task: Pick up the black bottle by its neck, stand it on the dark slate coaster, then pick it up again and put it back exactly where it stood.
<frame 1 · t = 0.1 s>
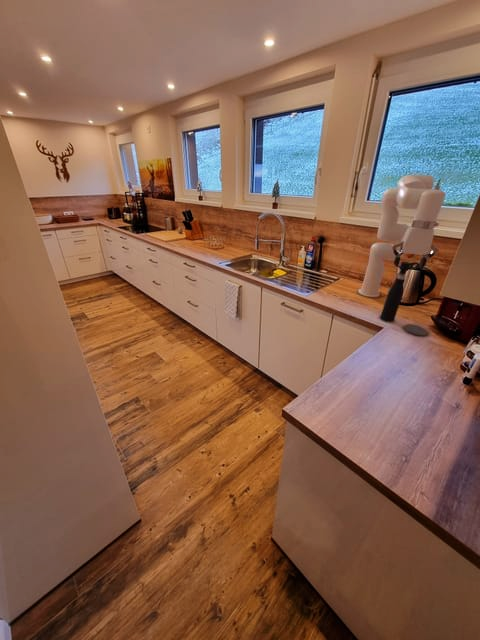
hand: (408, 266, 112), 31 cm above the worktop, tool pointing down, fingers open, 9 cm apart
slate coaster: (415, 330, 127), on the worktop
black bottle: (386, 319, 137), on the worktop
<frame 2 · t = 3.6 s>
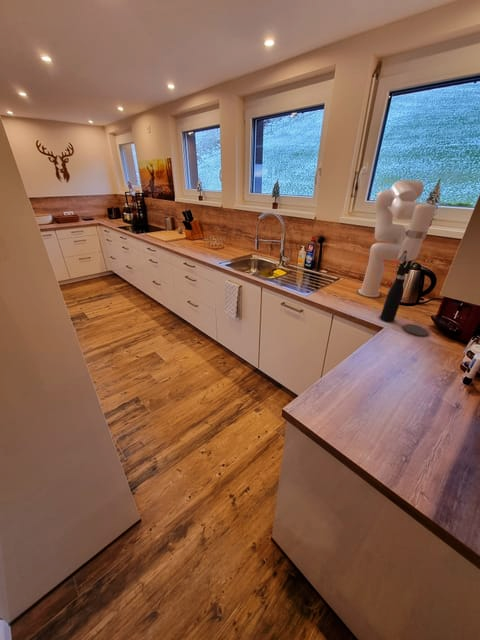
hand: (402, 273, 125), 25 cm above the worktop, tool pointing down, fingers closed on black bottle, 3 cm apart
black bottle: (386, 319, 137), on the worktop, touching gripper
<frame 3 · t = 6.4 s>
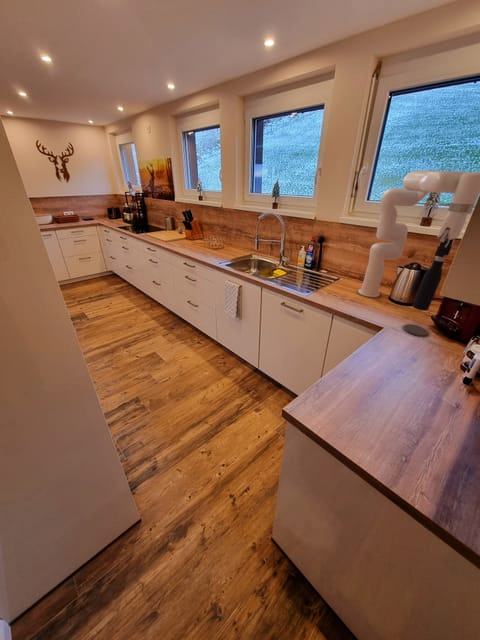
hand: (441, 255, 110), 37 cm above the worktop, tool pointing down, fingers closed on black bottle, 3 cm apart
black bottle: (419, 307, 123), point 12 cm above the worktop, touching gripper
when the fingers open (25 cm above the worktop, at t = 9.3 s): black bottle stays where it is, resting on slate coaster.
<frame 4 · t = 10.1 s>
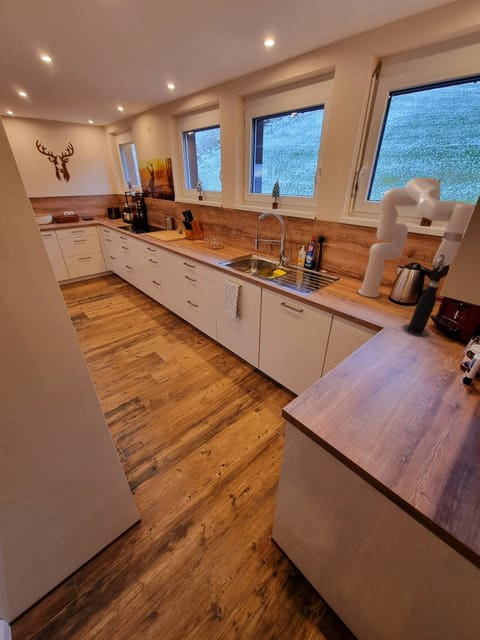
hand: (437, 277, 114), 27 cm above the worktop, tool pointing down, fingers open, 9 cm apart
black bottle: (415, 329, 127), point 1 cm above the worktop, touching slate coaster
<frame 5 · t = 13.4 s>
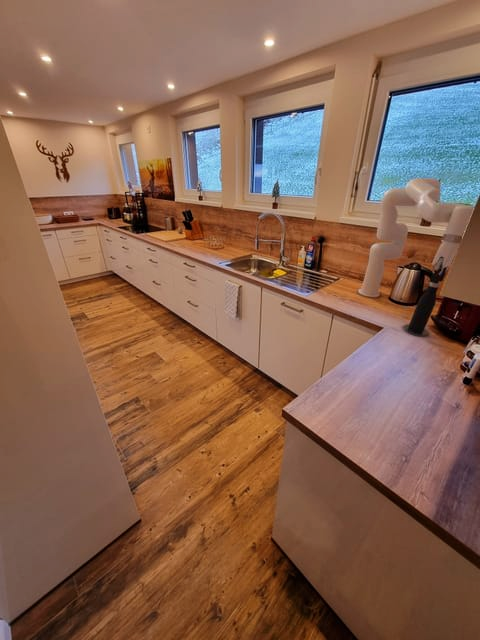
hand: (435, 281, 115), 25 cm above the worktop, tool pointing down, fingers closed on black bottle, 3 cm apart
black bottle: (415, 329, 127), point 1 cm above the worktop, touching gripper, slate coaster
when the fingers open (25 cm above the worktop, at t = 19.7 s): black bottle stays where it is, on the worktop.
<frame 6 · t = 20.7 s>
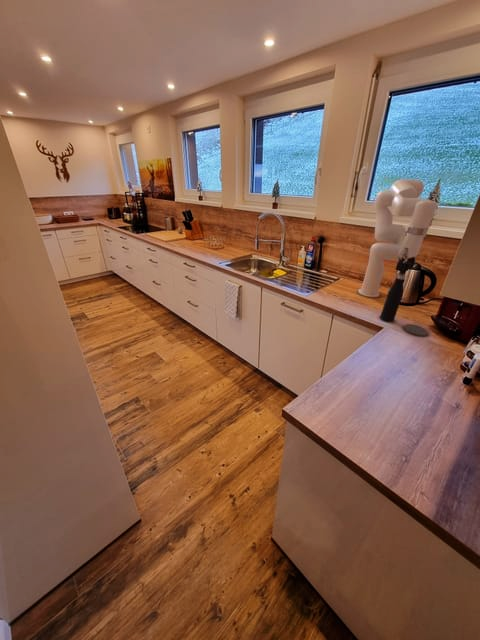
hand: (403, 268, 124), 27 cm above the worktop, tool pointing down, fingers open, 9 cm apart
black bottle: (386, 319, 137), on the worktop
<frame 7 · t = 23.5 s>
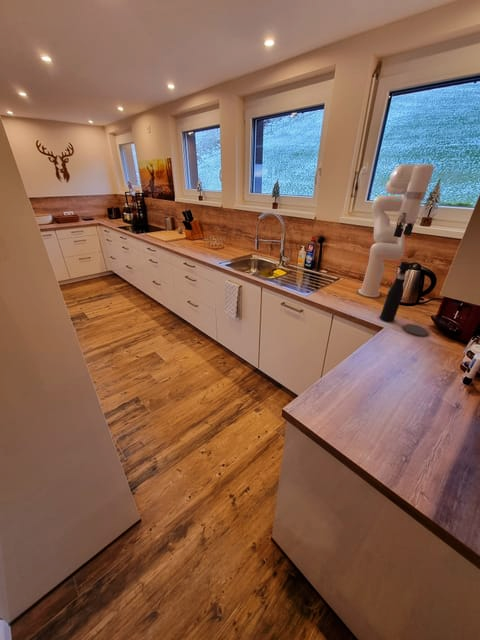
hand: (402, 235, 126), 40 cm above the worktop, tool pointing down, fingers open, 9 cm apart
nothing on the worktop moved.
at the end: black bottle 0.1 cm from the target spot, on the worktop; black bottle tilted 0°; the gripper is holding nothing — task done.
